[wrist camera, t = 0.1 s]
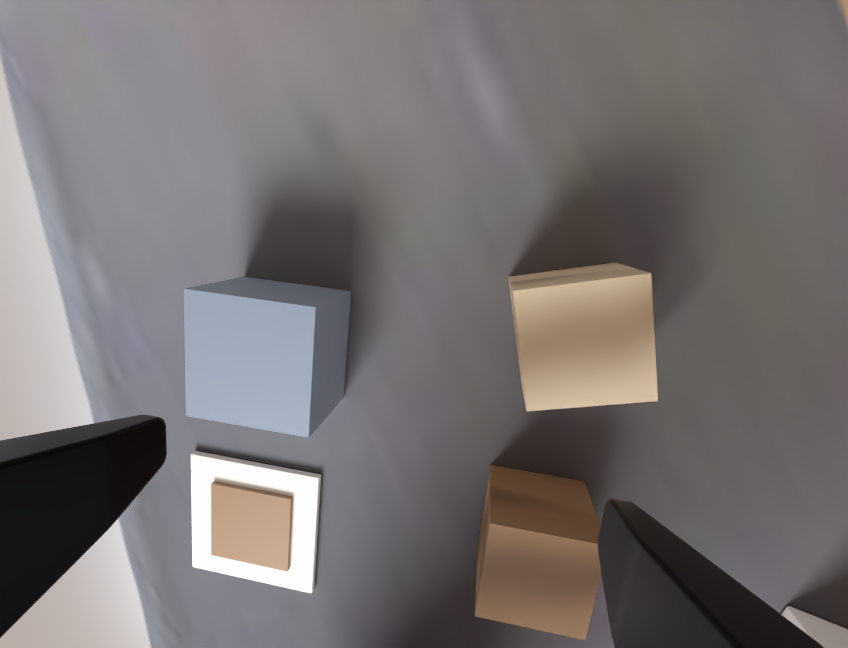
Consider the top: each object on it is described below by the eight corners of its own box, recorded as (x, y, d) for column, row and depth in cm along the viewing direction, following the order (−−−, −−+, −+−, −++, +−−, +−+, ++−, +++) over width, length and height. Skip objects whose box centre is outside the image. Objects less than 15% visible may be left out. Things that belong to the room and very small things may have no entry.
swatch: (314, 588, 28) (309, 597, 27) (196, 562, 29) (189, 570, 28) (321, 474, 26) (316, 481, 25) (195, 450, 27) (187, 456, 26)
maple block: (621, 362, 22) (658, 401, 17) (519, 372, 23) (526, 411, 18) (615, 262, 21) (651, 273, 16) (508, 276, 22) (513, 290, 17)
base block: (344, 396, 25) (308, 437, 20) (243, 380, 25) (185, 415, 21) (352, 290, 23) (315, 307, 19) (245, 276, 24) (183, 288, 19)
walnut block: (567, 559, 25) (585, 640, 20) (478, 541, 25) (474, 616, 21) (584, 480, 24) (608, 545, 19) (490, 463, 24) (490, 523, 19)
